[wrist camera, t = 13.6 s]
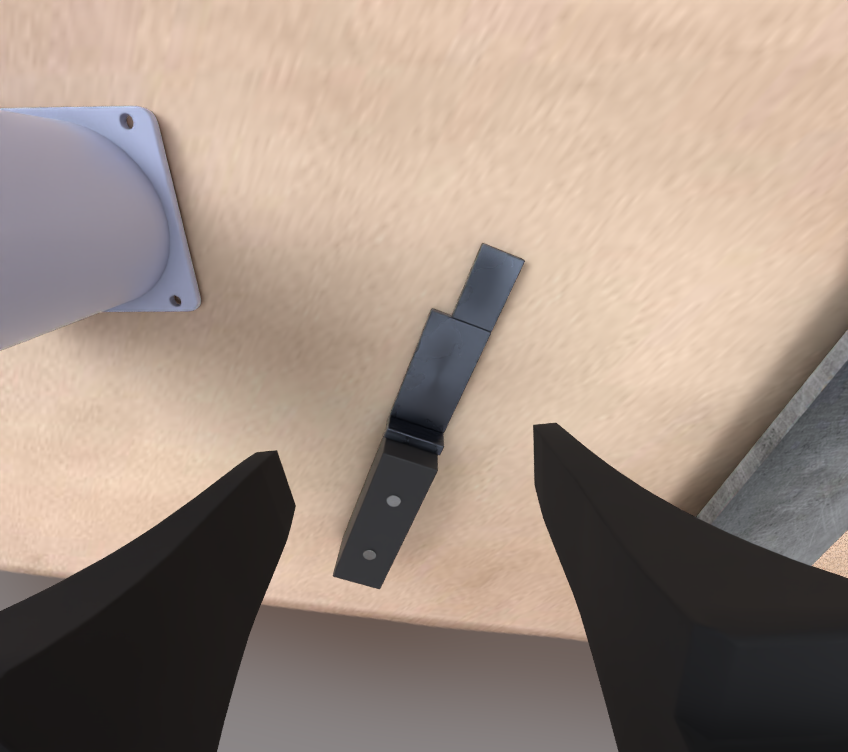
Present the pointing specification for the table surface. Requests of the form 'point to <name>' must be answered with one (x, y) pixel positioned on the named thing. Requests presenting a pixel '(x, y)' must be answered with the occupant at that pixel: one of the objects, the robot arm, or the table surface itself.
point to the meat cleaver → (794, 472)
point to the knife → (423, 419)
